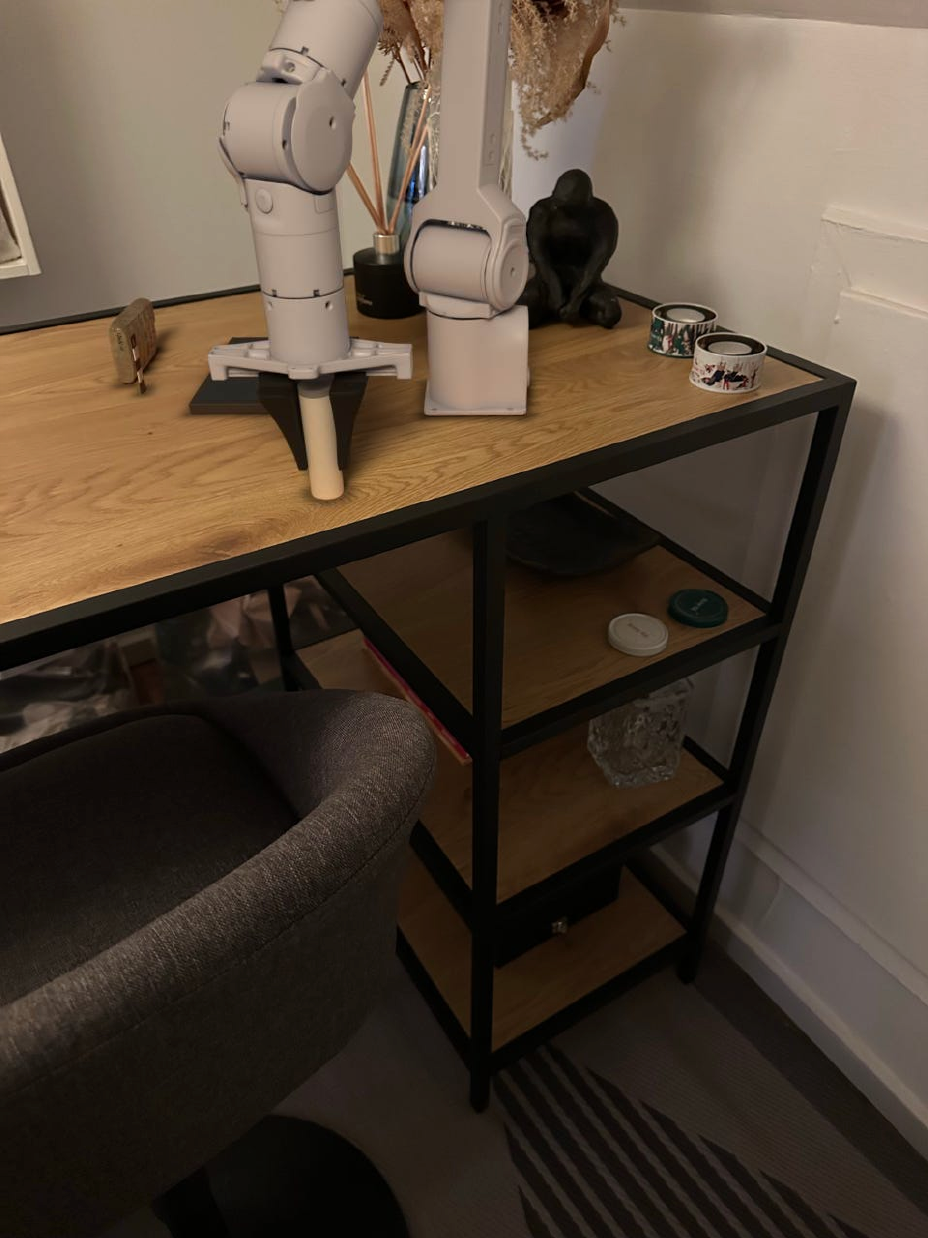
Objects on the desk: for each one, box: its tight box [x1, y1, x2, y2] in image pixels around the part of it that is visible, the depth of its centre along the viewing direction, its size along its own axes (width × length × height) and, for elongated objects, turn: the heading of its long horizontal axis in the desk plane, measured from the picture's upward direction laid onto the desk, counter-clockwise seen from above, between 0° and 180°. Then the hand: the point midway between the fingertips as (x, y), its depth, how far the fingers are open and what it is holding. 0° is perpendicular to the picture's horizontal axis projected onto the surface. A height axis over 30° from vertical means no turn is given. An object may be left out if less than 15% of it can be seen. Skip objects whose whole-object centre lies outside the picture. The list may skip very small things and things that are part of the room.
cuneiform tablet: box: [108, 297, 158, 395], centre depth 89 cm, size 6×4×12 cm
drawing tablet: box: [188, 336, 360, 415], centre depth 88 cm, size 14×18×1 cm
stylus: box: [298, 378, 345, 501], centre depth 67 cm, size 3×3×9 cm
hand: (324, 464), depth 68 cm, fingers closed on stylus, 2 cm apart
